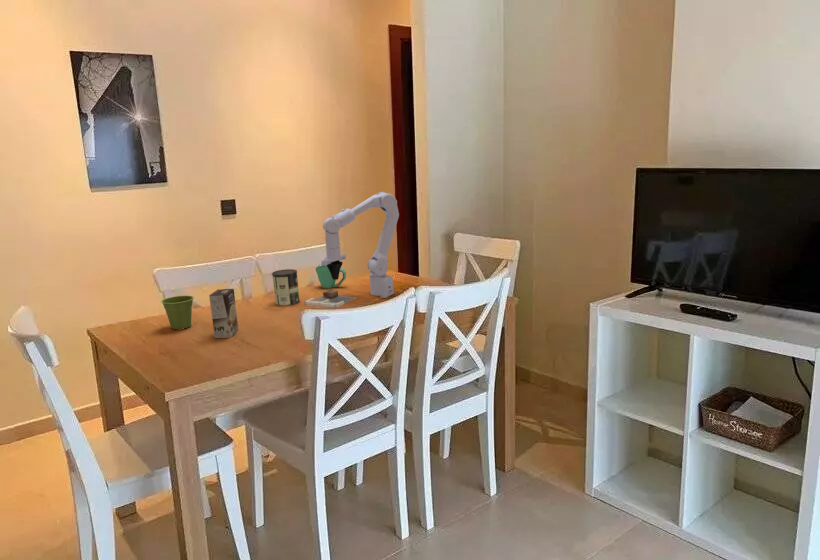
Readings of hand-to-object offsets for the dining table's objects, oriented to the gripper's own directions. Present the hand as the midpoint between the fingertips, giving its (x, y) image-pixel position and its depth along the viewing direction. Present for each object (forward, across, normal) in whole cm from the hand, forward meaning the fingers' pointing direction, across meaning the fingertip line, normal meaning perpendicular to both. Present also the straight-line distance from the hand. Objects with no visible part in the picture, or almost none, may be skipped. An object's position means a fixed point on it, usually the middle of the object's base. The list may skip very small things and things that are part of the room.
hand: (335, 279), depth 268 cm
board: (+10, +3, -1) cm, 10 cm away
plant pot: (+10, +51, -37) cm, 64 cm away
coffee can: (+10, +11, -18) cm, 23 cm away
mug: (+10, -17, -15) cm, 25 cm away
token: (+9, -2, -5) cm, 10 cm away
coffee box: (+10, +51, -13) cm, 53 cm away
